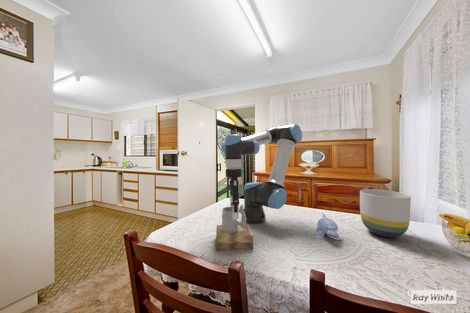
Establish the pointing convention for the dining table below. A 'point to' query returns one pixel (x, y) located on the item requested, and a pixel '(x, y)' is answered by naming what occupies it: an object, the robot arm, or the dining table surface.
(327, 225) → the light blue rounded figure
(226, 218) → the mug
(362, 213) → the planter
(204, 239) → the dining table surface
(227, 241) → the wooden block
